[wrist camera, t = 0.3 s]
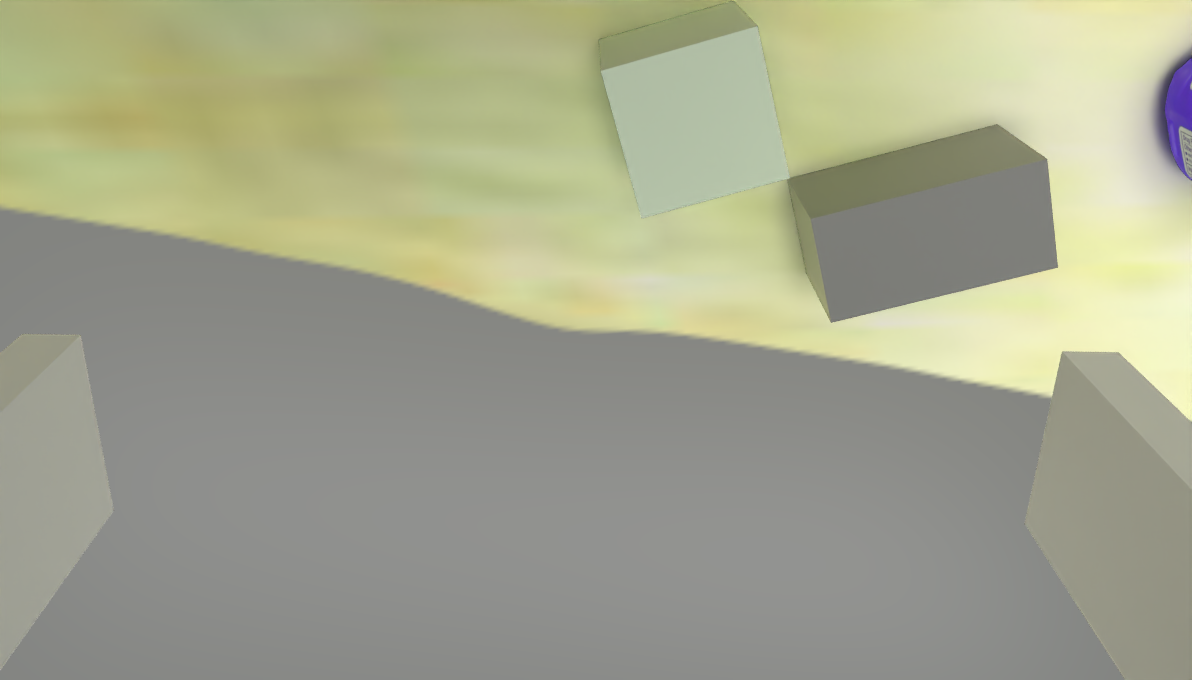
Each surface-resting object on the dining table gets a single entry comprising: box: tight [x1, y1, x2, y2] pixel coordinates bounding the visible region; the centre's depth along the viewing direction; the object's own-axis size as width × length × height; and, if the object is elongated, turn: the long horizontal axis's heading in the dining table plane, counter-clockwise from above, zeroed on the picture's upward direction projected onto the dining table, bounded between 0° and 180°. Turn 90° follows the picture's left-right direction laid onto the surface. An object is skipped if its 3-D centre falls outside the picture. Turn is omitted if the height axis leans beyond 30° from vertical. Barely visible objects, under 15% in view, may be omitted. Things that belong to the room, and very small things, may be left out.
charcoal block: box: [787, 125, 1058, 323], centre depth 40 cm, size 4×8×5 cm, turn 105°
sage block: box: [599, 1, 790, 218], centre depth 38 cm, size 5×5×6 cm
